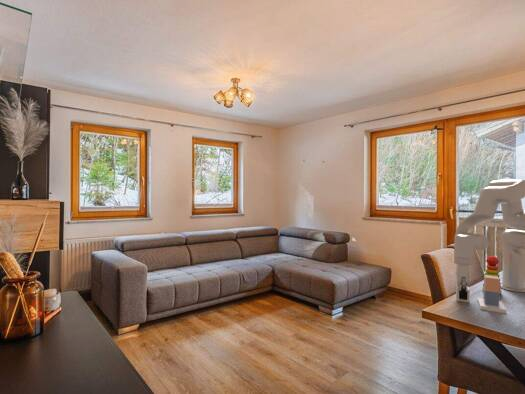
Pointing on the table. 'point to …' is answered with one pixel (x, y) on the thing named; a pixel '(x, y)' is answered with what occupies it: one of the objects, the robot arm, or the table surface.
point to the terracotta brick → (491, 283)
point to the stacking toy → (492, 268)
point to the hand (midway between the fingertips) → (462, 296)
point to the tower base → (490, 307)
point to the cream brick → (458, 294)
